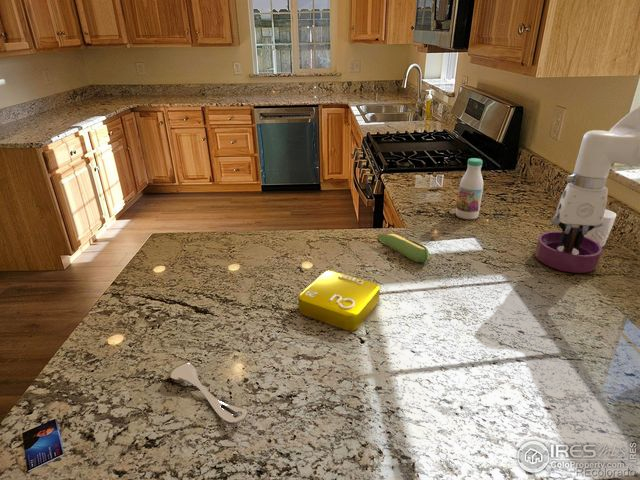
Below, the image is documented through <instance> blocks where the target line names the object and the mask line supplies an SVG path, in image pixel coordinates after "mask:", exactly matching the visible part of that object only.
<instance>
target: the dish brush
mask: <svg viewBox="0 0 640 480" xmlns="http://www.w3.org/2000/svg"><path fill="white" fill-rule="evenodd" d="M579 228H580V227H579V225H572V226H571V229H570V234H571V237H570V240H569V244H568V247H564V246H559V247H557V251H560V252H564V253H568V254H574V255H579V251H578V250H577V249H575V248H574V245H575V242H576V238H577V235H578V232H579Z"/></svg>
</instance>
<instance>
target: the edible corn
mask: <svg viewBox="0 0 640 480" xmlns="http://www.w3.org/2000/svg"><path fill="white" fill-rule="evenodd" d="M376 237H377V239H378V240H379V241H380V242H381V243H382V244H384V245H385V246H387V247H389V248H391V249H393V250H395V251H396V252H397V253H399V254H400V255H402V256H403V257H406V259H409V260H410V261H413V262H415V263H423V262H426V261H428V260H430V258H431V255H430V251H429V250H428V248H427V247H426V246H424V245H423V244H421V243H419V242H416V241H414V240H411V239H408V238H407V237H403V236H401V235H400V234H399V235H398V234H396V233H393V232H390V233H389V234H382V233H379V234H377V235H376Z"/></svg>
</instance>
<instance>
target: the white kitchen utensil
mask: <svg viewBox="0 0 640 480" xmlns="http://www.w3.org/2000/svg"><path fill="white" fill-rule="evenodd" d="M168 377H170V378H171V379H173V380H177V381H181V382H182V381H183V382H187V383H190V384H192V385H194V386H195V387H197V388H198V389H199V390H200V392H201V393H202V395H203V396H204V397H205V399H206V400H207V401H208V403H209V404H210V406H211V408H212V409H213V410H214V411H215V413H216V414H217V415H218V416H219V417H220V418H221V419H222V420H224V421H226V422H227V423H230V424H237V423H239V422H242V421H244V420H245V419H246V418H247V416H248V410H247V409H246V408H244V407H242V406H238V405H234V404H233V403H229V402H225V401H224V400H221V399H220V398H218V397H216V396H215V395H214V394H212V393H211V392H210V391H209V390H207V388H206V387H205V386H204V385H203V384H202V382H201V381H200V378H199V376H198V369H197V366H196V364H194V363H193V362H190V361H185V362H182V363H180V364H179V365H177V366H175V367H174V368H173V369H172V370H171V371H170V372H169V374H168ZM222 406H224V407H226V408H227V409H229V410H230V411H232V412H233V413H235V414H238V413H241V415H240V416H238V417H234V414H233V413H231V412H229V411H228V410H226V409H224V408H222Z"/></svg>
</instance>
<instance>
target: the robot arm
mask: <svg viewBox="0 0 640 480" xmlns="http://www.w3.org/2000/svg"><path fill="white" fill-rule="evenodd" d="M612 164H618V165H619V164H620V165H624V166H630V167H640V105H638V106H637V107H635V108H634V109H632V110H631V111H630V112H628V113H627V114H626V115H625V116H623V117H622V118H621V119H620V120H619V121H618V122H617V123H615V124H614V126H612V127H610V129H609V130H602V129H601V130H600V129H594V130H593V129H591V130H588V131H586V132H585V133H584V134H583V137H582V139H581V144H580V147H579V150H578V154H577V158H576V162H575V164H574V170H573V171H572V173H571V174H570V175H569V174H568V175H566V176H565V180H566V181H569V182H568V183H567V184H566V186H565V188H564V190H563V192H562V194H561V196H560V198H559V201H558V204H557V207H556V212H555V214H554V215H553V216H552V218H551V219H550V222H551V223H552V224H553V225H556V226H558V227H559V228H560V229H561V230H562V231H561V232H562V235H561V238H560V242H561V244H562V245H563V246H564V247H568V244H569V240H570V237H571V234H570V229H571V226H572V225H576V226H579V227H580V228H579V232H578V235H577V238H576V242H575V245H574V246H575V247H576V248H579V246H580V244H582V241H583V237H584V235H586V234H587V232H589V231H590V230H592V229H593V228H597V227H600V226H602V225H603V224H602V220H603V217H604V213H605V209H606V208H607V202H608V193H609V188H608V187H606V184H607V182H608V181H607V180H608V178H609V174H610V171H611V168H612Z"/></svg>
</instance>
